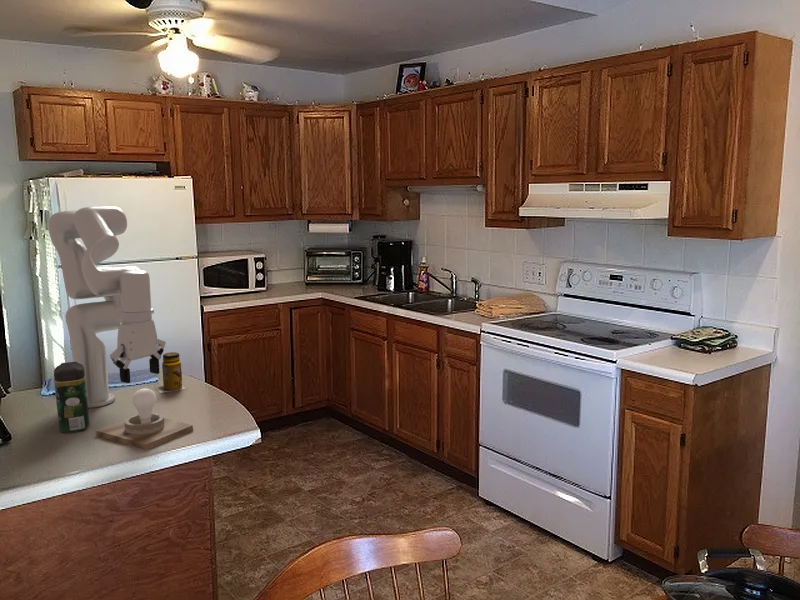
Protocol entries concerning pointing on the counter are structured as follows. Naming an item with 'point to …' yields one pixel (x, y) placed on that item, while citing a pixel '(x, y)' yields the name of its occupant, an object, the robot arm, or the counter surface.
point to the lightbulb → (144, 404)
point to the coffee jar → (71, 397)
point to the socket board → (145, 438)
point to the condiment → (171, 373)
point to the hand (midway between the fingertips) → (140, 377)
